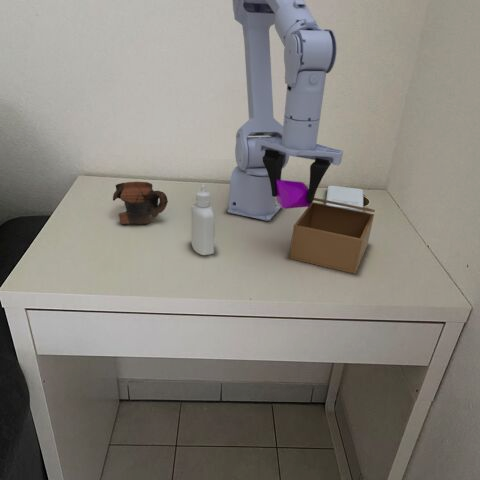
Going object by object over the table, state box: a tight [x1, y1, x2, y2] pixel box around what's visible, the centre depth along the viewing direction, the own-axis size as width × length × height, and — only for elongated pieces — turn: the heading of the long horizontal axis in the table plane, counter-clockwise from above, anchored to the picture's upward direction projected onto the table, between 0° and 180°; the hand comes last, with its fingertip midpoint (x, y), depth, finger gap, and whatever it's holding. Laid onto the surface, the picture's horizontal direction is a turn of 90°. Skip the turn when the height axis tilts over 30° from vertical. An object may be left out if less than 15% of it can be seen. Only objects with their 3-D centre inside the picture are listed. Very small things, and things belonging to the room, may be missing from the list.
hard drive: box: [325, 185, 364, 212], centre depth 112 cm, size 2×8×12 cm
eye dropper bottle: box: [190, 184, 216, 256], centre depth 87 cm, size 4×6×12 cm
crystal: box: [276, 179, 310, 210], centre depth 86 cm, size 5×5×5 cm
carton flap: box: [313, 197, 376, 213], centre depth 90 cm, size 6×12×1 cm, turn 68°
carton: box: [289, 201, 375, 275], centre depth 90 cm, size 12×12×6 cm
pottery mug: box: [112, 181, 169, 225], centre depth 99 cm, size 12×10×8 cm
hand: (292, 198), depth 87 cm, fingers closed on crystal, 6 cm apart
